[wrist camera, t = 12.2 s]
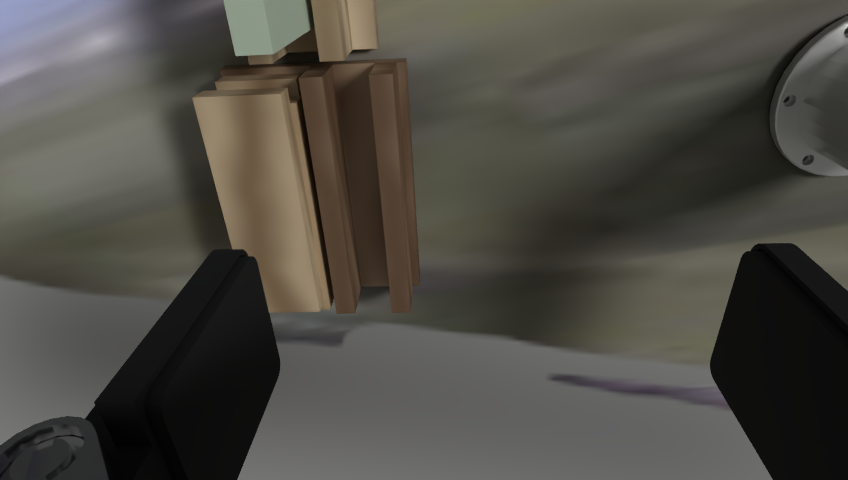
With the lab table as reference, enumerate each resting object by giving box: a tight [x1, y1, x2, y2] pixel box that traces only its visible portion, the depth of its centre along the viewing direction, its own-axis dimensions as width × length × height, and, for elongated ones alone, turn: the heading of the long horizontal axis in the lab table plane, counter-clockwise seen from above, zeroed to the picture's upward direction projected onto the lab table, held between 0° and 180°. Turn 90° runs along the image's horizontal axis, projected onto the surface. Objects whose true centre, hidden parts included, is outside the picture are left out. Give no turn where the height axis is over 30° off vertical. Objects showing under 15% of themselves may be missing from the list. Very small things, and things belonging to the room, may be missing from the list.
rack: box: [192, 59, 420, 314], centre depth 42 cm, size 14×20×7 cm
